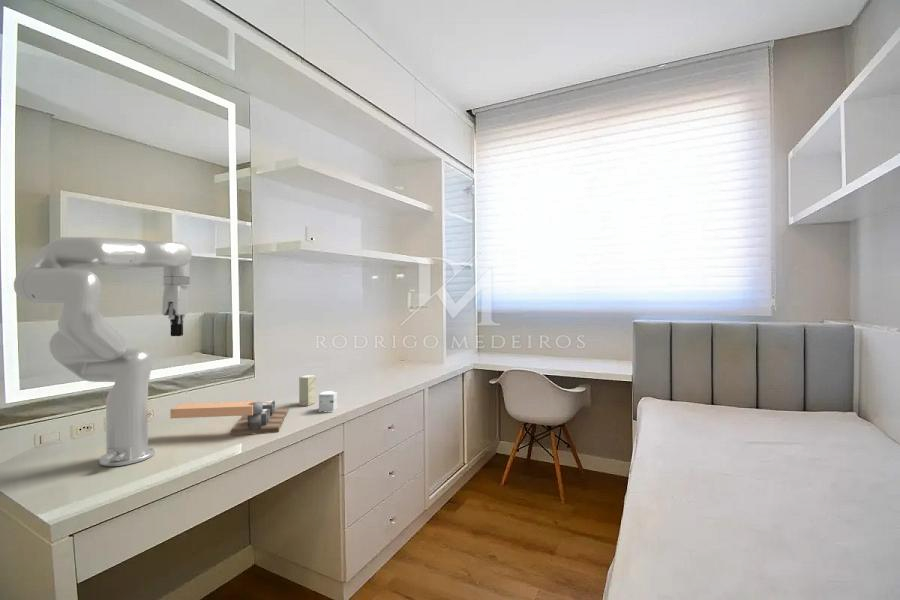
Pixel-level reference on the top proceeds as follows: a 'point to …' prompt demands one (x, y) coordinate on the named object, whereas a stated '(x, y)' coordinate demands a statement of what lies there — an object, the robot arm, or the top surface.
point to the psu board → (268, 428)
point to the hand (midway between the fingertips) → (176, 335)
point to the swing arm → (216, 409)
